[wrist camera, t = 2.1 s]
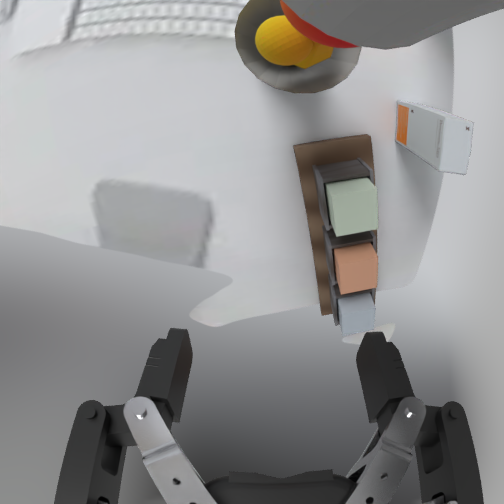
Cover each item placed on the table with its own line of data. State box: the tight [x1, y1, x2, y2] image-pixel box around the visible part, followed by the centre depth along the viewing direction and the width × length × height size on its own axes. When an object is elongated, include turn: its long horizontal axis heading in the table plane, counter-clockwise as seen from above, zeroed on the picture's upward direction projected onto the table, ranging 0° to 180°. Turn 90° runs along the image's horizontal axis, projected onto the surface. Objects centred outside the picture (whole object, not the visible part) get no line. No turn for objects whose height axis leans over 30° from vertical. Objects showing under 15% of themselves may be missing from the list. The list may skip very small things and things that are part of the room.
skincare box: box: [395, 100, 473, 175], centre depth 26 cm, size 6×4×12 cm
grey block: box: [336, 292, 376, 336], centre depth 41 cm, size 5×5×6 cm
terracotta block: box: [332, 242, 378, 294], centre depth 36 cm, size 5×5×6 cm
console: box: [293, 134, 377, 326], centre depth 39 cm, size 30×10×6 cm, turn 14°
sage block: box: [323, 176, 378, 237], centre depth 31 cm, size 5×5×6 cm
